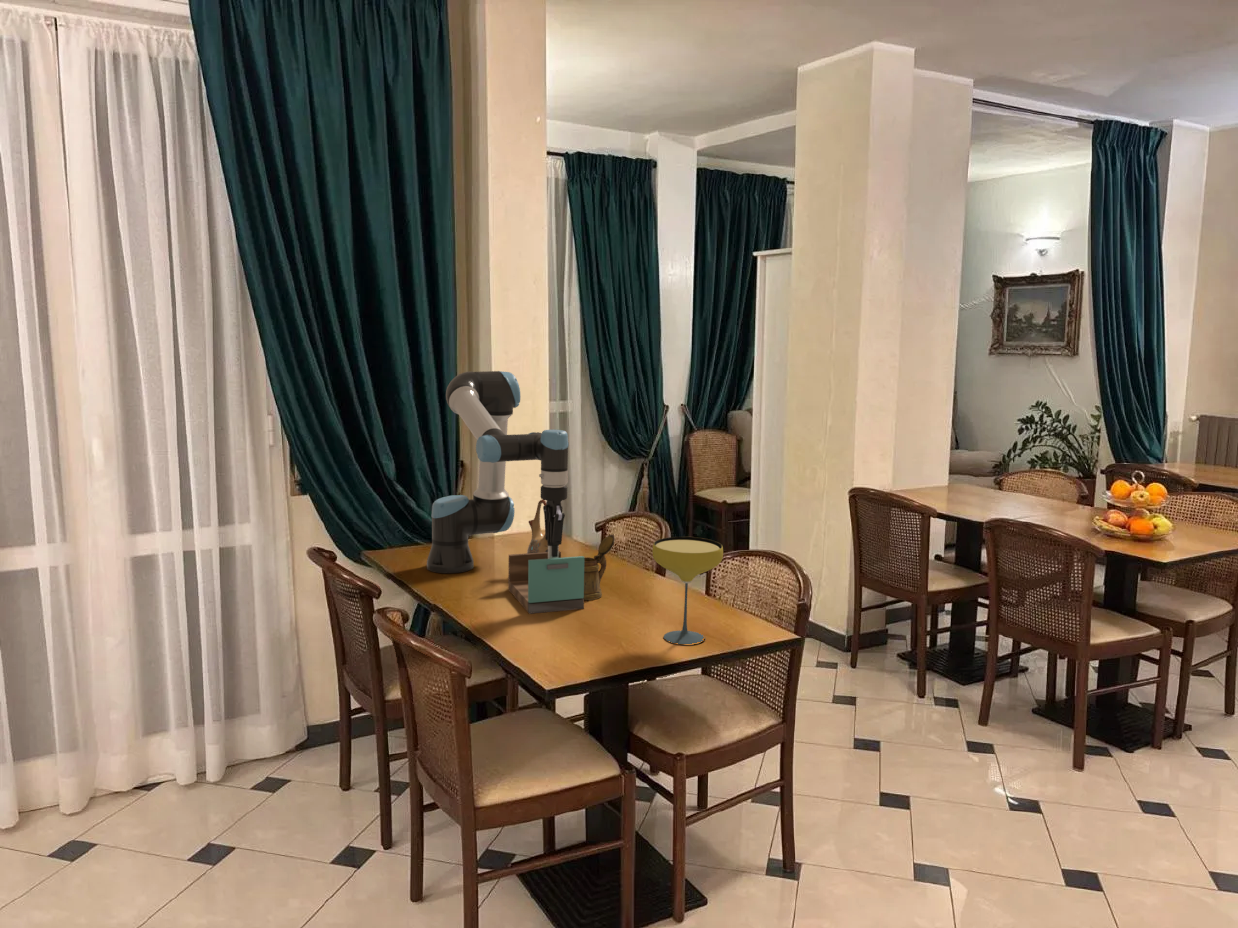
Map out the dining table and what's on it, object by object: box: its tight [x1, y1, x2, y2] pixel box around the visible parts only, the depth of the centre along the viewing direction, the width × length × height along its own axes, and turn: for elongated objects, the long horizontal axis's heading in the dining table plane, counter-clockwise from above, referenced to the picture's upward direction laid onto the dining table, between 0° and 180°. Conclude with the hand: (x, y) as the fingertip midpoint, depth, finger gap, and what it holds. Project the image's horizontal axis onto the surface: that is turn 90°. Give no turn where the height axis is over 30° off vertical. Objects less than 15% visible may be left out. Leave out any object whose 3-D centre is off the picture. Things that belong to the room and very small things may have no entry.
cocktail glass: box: [651, 536, 724, 644], centre depth 234 cm, size 18×18×25 cm
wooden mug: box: [583, 533, 616, 601], centre depth 270 cm, size 9×14×18 cm, turn 121°
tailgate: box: [528, 555, 585, 603], centre depth 254 cm, size 2×16×12 cm, turn 111°
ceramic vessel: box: [526, 499, 548, 553], centre depth 288 cm, size 16×9×25 cm, turn 31°
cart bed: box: [508, 550, 585, 615], centre depth 265 cm, size 24×16×11 cm
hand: (553, 566), depth 257 cm, fingers closed
